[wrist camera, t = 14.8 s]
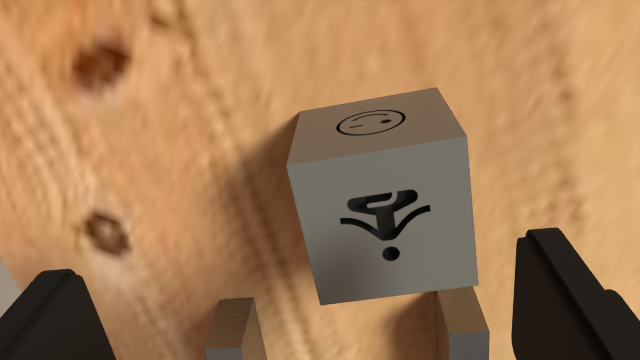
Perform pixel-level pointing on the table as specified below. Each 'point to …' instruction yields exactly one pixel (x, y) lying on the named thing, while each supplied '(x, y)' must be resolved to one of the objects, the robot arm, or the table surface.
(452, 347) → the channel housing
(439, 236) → the dice cube
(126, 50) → the table surface
